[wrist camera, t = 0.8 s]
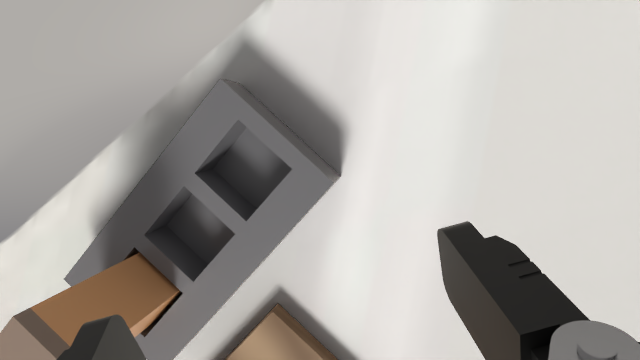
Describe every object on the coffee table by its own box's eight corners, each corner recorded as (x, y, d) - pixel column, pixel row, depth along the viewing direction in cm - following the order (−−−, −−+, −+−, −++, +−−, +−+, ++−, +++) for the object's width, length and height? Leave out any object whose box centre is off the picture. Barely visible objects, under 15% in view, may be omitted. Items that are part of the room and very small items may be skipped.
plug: (158, 243, 34) (13, 316, 21) (195, 278, 33) (71, 373, 21) (129, 278, 34) (-27, 368, 22) (165, 312, 34) (29, 424, 22)
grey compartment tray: (239, 83, 31) (220, 78, 28) (340, 176, 31) (334, 182, 27) (95, 264, 35) (63, 279, 32) (183, 348, 35) (160, 372, 31)
